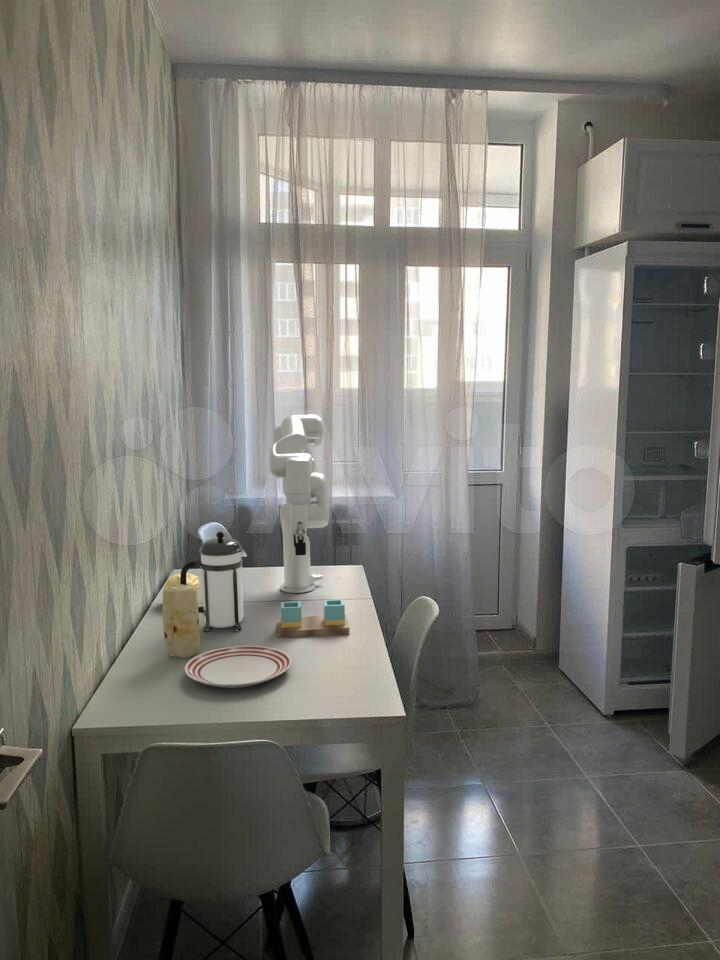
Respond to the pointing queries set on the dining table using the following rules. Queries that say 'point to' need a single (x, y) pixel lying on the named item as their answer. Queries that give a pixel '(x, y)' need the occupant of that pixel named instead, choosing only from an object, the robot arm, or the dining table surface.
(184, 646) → the food model
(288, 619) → the seated sleeve
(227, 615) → the coffee press
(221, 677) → the dinner plate
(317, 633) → the pin board
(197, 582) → the sculpture
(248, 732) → the dining table surface
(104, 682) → the dining table surface
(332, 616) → the sleeve
